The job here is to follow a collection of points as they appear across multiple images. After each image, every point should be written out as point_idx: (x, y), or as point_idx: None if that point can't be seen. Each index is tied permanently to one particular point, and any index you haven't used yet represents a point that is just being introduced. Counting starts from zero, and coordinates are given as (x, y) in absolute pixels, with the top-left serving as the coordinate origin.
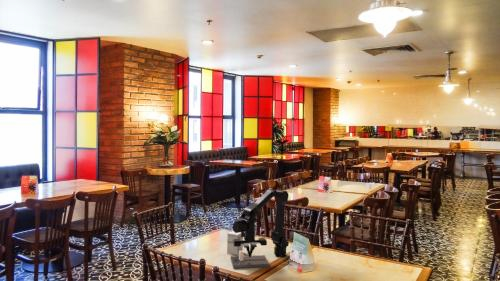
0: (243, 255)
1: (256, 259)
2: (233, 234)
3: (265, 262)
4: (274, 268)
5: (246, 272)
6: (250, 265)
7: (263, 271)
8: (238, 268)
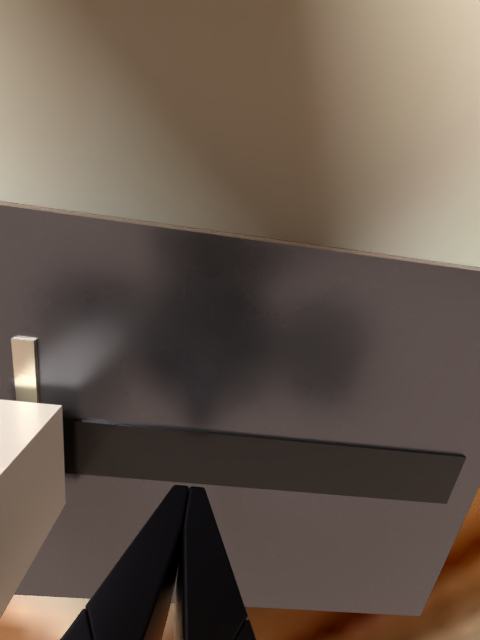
0: (3, 611)
1: (315, 464)
2: None
3: (395, 575)
4: (434, 593)
5: None
6: None
7: (285, 633)
8: None
